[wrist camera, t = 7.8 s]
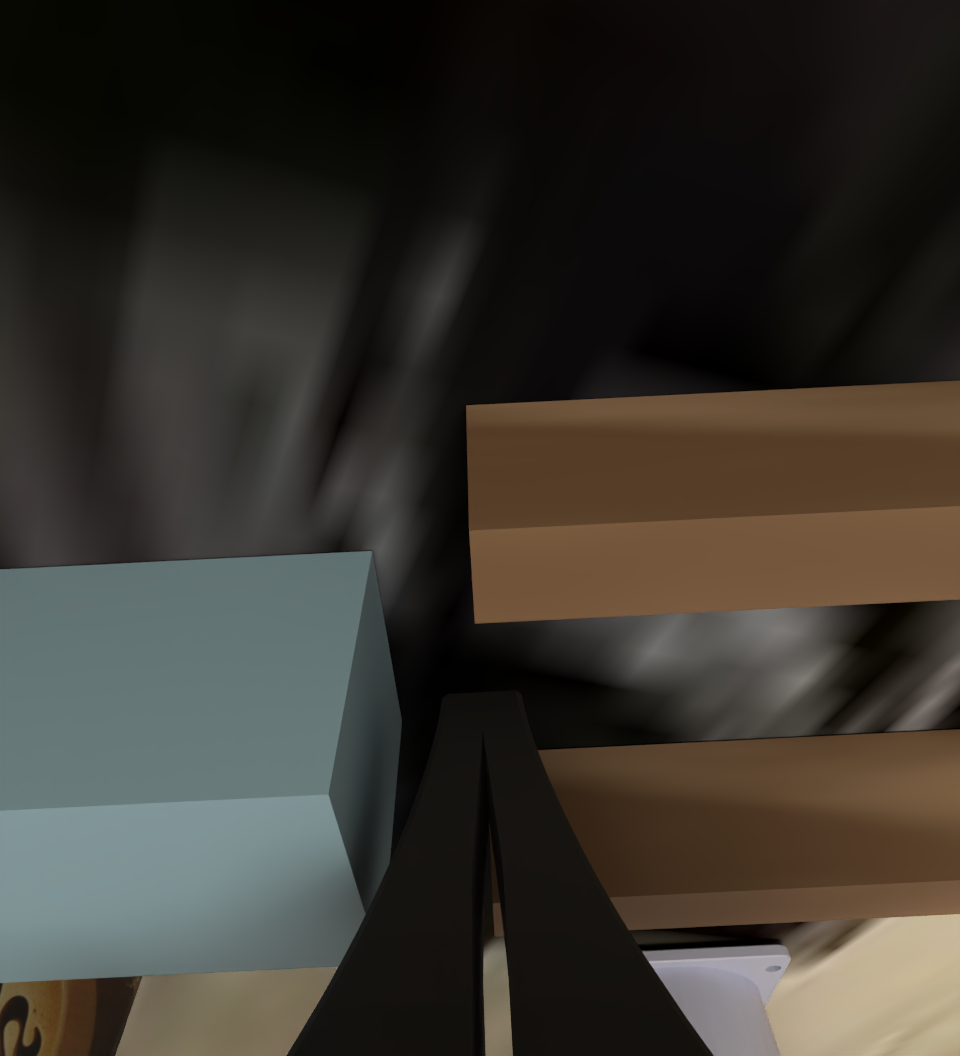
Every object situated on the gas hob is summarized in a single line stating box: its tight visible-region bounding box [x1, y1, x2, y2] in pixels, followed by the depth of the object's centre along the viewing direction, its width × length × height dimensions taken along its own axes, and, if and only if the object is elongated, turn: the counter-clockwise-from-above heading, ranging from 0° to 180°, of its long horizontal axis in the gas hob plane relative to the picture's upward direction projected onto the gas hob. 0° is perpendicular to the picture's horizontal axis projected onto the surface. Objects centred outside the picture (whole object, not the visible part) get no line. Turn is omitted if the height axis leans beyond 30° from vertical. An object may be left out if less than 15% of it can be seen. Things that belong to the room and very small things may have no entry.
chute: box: [466, 381, 960, 937], centre depth 12 cm, size 11×12×4 cm
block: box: [0, 551, 402, 983], centre depth 11 cm, size 5×8×5 cm, turn 92°
